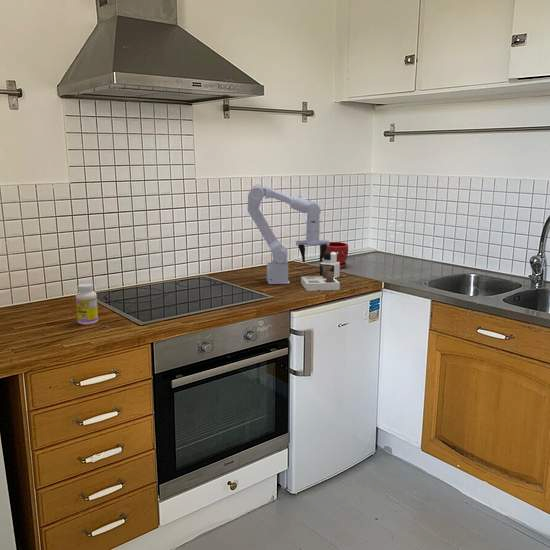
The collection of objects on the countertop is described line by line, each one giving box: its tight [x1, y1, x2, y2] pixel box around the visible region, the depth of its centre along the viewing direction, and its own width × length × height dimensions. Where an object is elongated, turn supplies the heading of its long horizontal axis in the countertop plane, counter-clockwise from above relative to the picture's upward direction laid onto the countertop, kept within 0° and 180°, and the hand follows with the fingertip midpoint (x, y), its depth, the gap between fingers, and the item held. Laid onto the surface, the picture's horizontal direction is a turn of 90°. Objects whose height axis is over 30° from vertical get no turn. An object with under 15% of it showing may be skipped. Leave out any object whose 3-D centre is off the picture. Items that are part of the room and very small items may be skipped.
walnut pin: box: [326, 271, 334, 283], centre depth 236 cm, size 3×3×7 cm
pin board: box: [300, 266, 341, 292], centre depth 238 cm, size 14×14×8 cm
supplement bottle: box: [75, 283, 99, 326], centre depth 185 cm, size 7×7×13 cm
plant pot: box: [325, 241, 349, 269], centre depth 280 cm, size 13×13×12 cm
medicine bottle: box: [319, 252, 341, 279], centre depth 255 cm, size 7×7×12 cm
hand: (312, 261), depth 245 cm, fingers open, 7 cm apart
